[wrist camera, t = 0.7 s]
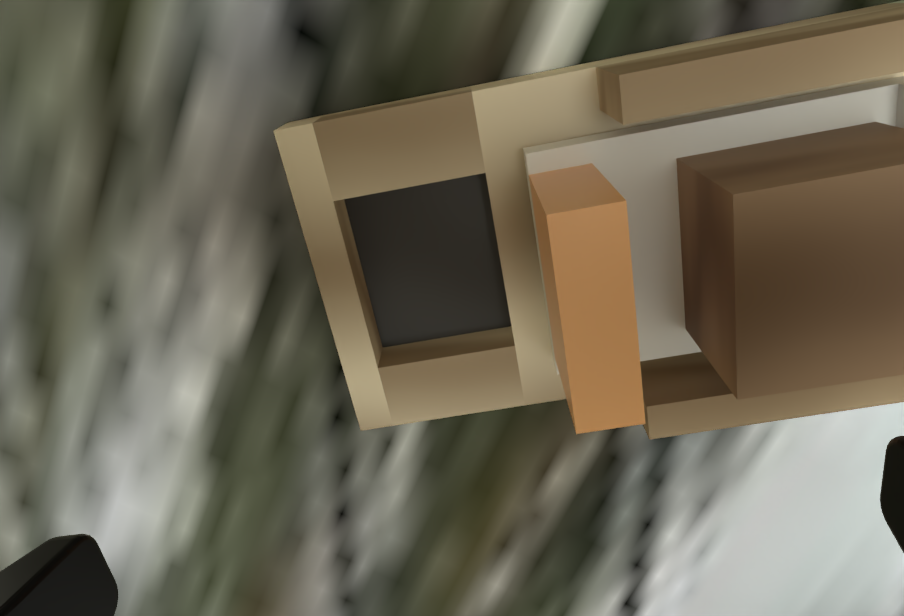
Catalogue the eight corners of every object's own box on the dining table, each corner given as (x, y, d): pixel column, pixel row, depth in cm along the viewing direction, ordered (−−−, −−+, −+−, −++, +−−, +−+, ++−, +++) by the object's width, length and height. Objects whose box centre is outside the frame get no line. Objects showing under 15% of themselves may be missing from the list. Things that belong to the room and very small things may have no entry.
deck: (1166, 277, 19) (1333, 338, 16) (367, 404, 21) (347, 484, 18) (1256, -70, 16) (1499, -98, 12) (287, 122, 18) (243, 149, 14)
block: (864, 300, 17) (959, 366, 14) (685, 329, 17) (737, 399, 14) (875, 121, 15) (988, 149, 12) (676, 158, 15) (733, 194, 12)
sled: (886, 307, 18) (1007, 389, 14) (553, 360, 18) (578, 452, 15) (904, 75, 15) (1058, 94, 11) (522, 147, 16) (542, 188, 12)
